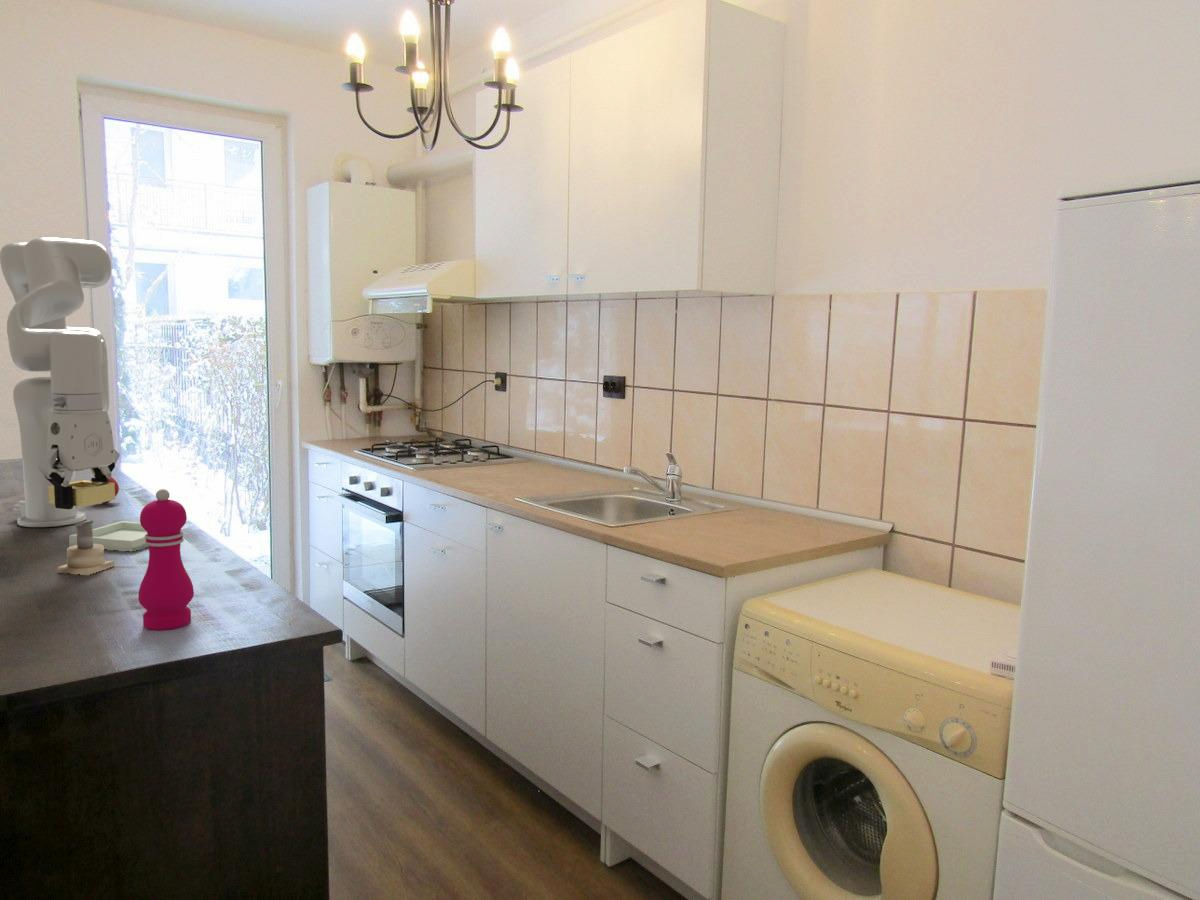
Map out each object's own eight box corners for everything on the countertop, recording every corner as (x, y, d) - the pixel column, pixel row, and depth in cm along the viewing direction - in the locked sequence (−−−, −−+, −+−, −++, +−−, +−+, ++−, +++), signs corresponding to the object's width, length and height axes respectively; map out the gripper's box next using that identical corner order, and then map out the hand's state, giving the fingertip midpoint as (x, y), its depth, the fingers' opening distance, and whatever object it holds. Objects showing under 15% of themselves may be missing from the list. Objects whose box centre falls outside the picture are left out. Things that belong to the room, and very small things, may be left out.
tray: (69, 546, 164) (68, 535, 164) (122, 531, 178) (122, 521, 177) (132, 552, 162) (132, 541, 161) (181, 536, 175) (181, 525, 175)
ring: (82, 506, 144) (81, 489, 143) (39, 502, 146) (38, 485, 145) (115, 499, 150) (114, 482, 150) (73, 495, 152) (72, 479, 152)
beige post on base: (58, 572, 147) (55, 524, 146) (85, 563, 153) (82, 517, 152) (88, 575, 146) (85, 526, 145) (113, 566, 152) (111, 519, 150)
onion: (106, 506, 201) (104, 473, 200) (85, 505, 202) (84, 472, 201) (124, 502, 207) (123, 470, 206) (104, 500, 208) (103, 468, 207)
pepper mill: (152, 615, 127) (147, 484, 124) (202, 615, 127) (198, 485, 125) (130, 631, 120) (124, 493, 117) (183, 631, 120) (178, 494, 118)
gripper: (52, 408, 136) (57, 516, 139) (134, 401, 153) (138, 497, 155) (14, 406, 138) (21, 512, 140) (100, 398, 155) (104, 493, 157)
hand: (82, 503), depth 148 cm, fingers closed on ring, 7 cm apart
